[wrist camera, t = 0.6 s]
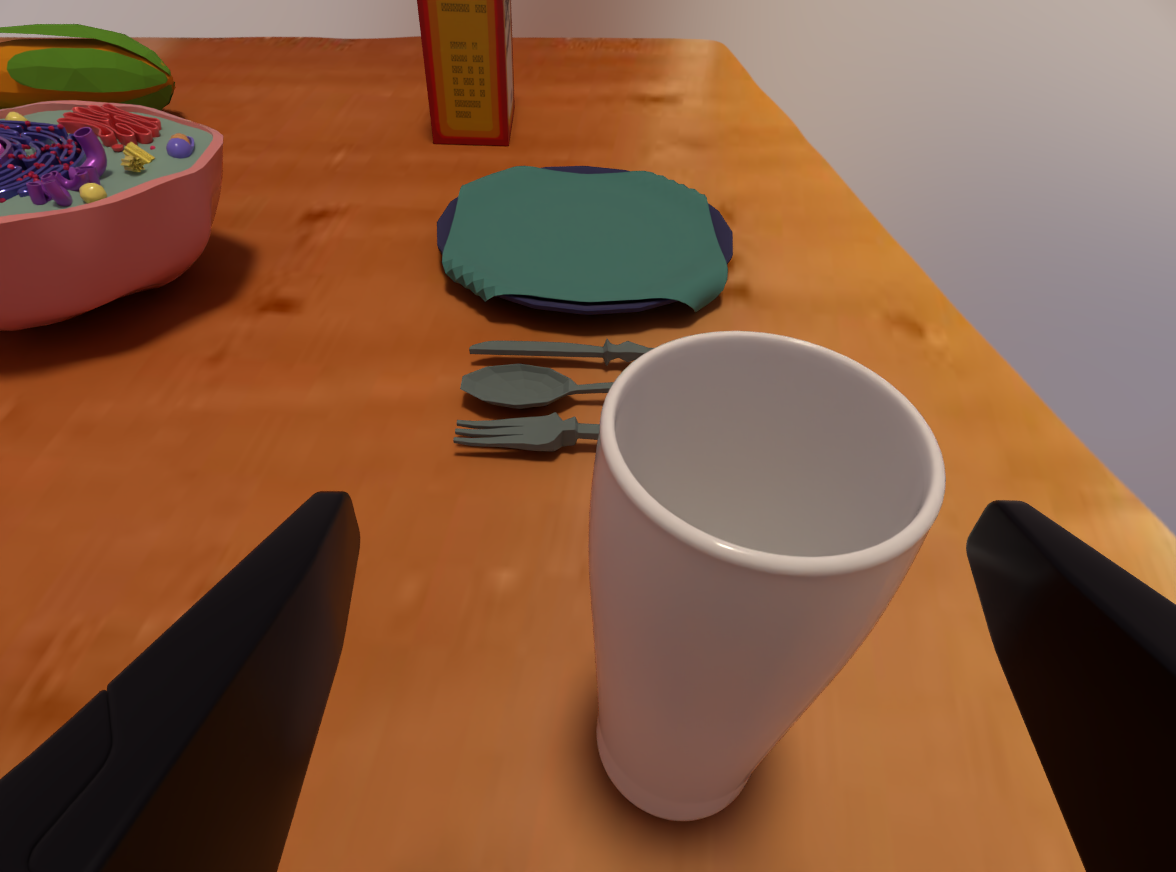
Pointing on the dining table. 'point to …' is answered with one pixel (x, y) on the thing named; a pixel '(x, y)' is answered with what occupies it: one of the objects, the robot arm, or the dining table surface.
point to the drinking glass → (741, 551)
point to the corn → (81, 68)
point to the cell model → (99, 205)
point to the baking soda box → (468, 70)
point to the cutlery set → (573, 274)
